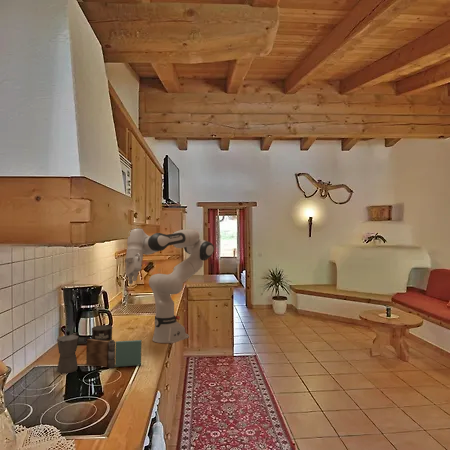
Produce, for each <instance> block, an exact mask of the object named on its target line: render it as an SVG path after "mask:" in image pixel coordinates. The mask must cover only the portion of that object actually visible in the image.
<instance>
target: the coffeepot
mask: <svg viewBox="0 0 450 450" xmlns="http://www.w3.org/2000/svg"><path fill="white" fill-rule="evenodd" d="M56 340H57V348H58V354H59V358H58V362H57V369H56V372H57V373H58V374H63V375H64V374H70V373H75V372H76V371H77V370H78V367H79V366H78V359H77V354H76V352H77V349H78V344H79V340H80V334H79V332H77V331H76V332H73V333H72V334H71V331H68V330H67V331H66V335H61V336H59V337H58V338H57V339H56Z"/></svg>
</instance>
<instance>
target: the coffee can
mask: <svg viewBox="0 0 450 450" xmlns="http://www.w3.org/2000/svg"><path fill="white" fill-rule="evenodd" d="M91 339H95V340H103V341H110V340H113V326H112V325H109V324H108V325H107V324H103V325H101V324H100V325H96V326H93V327H91Z"/></svg>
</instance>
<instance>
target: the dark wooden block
mask: <svg viewBox="0 0 450 450" xmlns="http://www.w3.org/2000/svg"><path fill="white" fill-rule="evenodd" d="M114 350H115V351H116V340H114V339H112V340H110V341H103V340H95V339H92V338H87V339H86V355H85V357H86V359H85V363H86V365H87V366H95V365H98V366H97V367H102V366H103V368H108V369H114V368H116V367H115V359H112V360H110V359H108V351H114Z"/></svg>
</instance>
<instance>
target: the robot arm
mask: <svg viewBox="0 0 450 450" xmlns="http://www.w3.org/2000/svg"><path fill="white" fill-rule="evenodd" d="M130 231H131V232H130ZM130 231H129V232H130V236H129V237H128V236H127V242H126V244H127V247H126V248H127V249H126V255H125V258H124V259H125V277H127V278H128V284H129V285H132V284H133V283H134V282H137V280H138V275H139V272H140V271H141V270H142V265H143V264H142V263H143V258H144V255H146V256H148V255H152V254H155V253H158V252H161V251H164V250H166V249H167V248H168V247H169V246H173V247H174V248H176V249H183V251H184V252H185V253H187V254H189V257H187V258H186V259H184V260H183V261H181V262H180V263H178V264H176V265H175V266H174V267H173V270H172V272H171V273H168V274H166V273H154V274H152V275H151V276H150V277H149V279H148V286H149V288H150V289H151V291H152V294H153V299H154V302H155V315H154V332H153V336H152V338H151V340H152V342H155V343H158V344H175V343H177V342H181V341H184V340H187V339H190V335H189V334H188V333H186V328H185V326H184V325H182V324H181V323H180V322H178V321H177V320H180V316H178V315H175V301H174V300H173V298H172V297H171V295H177V294H180V293H181V291H182V290H183V286H184V285H183V284H184V283H185V282H186V281H187V280H188V279H189V278H191V277H193V276H194V275H195V274H197V273H198V272H199V271H200V269H202V267H204V266H203V265H204V262H205V261H207V260H208V259H210V258H211V257H212V255H213V254H214V251H215V246H214V244H213V243H212V242H210V241H207V240H205V239H200V233H199V231H197V230H196V229H195V228H187V229H186V228H185V229H180V230H177V231H174V232H172V233H170V234H166V233H161V232H156V233H154V234H152V235H148V234H147V233H146V232H145V231H144V229H143V228H139V227H137V228H132V229H130Z"/></svg>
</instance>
